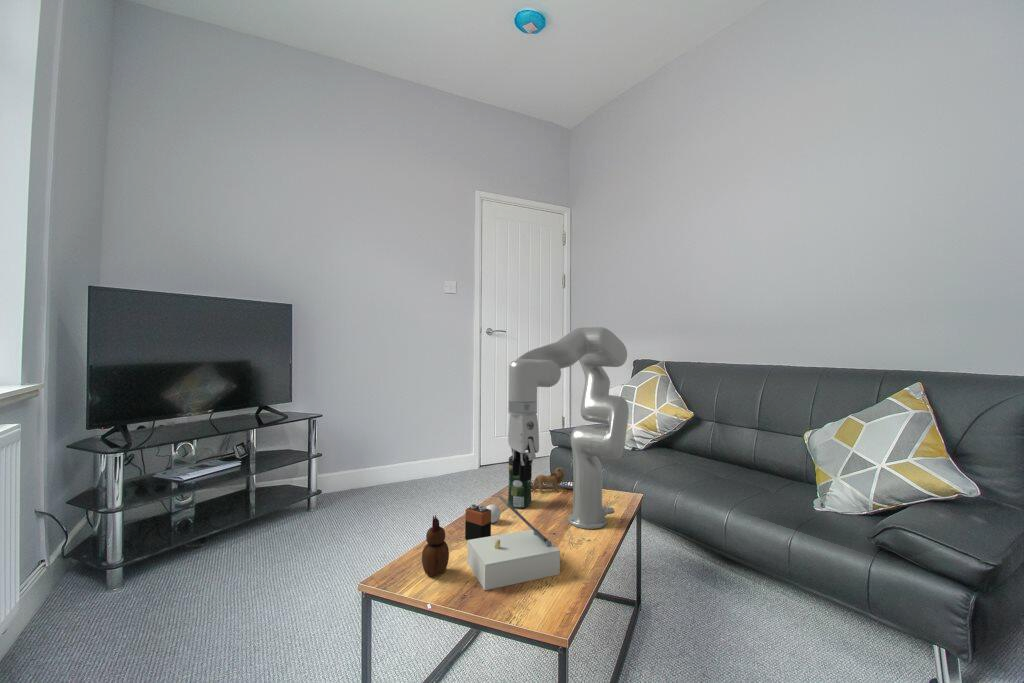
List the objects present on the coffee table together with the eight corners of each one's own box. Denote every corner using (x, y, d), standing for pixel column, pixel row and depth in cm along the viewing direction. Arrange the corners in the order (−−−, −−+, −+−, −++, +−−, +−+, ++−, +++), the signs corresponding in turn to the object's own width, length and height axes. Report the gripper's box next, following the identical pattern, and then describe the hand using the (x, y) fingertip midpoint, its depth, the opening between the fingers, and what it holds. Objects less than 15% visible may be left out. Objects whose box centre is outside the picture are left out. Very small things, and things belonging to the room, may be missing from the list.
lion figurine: (561, 487, 178) (561, 465, 178) (567, 491, 173) (567, 469, 173) (528, 491, 173) (528, 468, 173) (533, 495, 168) (533, 472, 168)
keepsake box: (535, 550, 122) (535, 522, 122) (559, 574, 109) (559, 543, 110) (467, 562, 115) (467, 533, 115) (484, 590, 102) (485, 556, 102)
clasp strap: (536, 535, 118) (539, 532, 119) (547, 545, 113) (550, 541, 113) (497, 497, 114) (500, 494, 114) (506, 505, 108) (509, 501, 109)
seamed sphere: (483, 518, 145) (484, 501, 145) (500, 519, 144) (501, 502, 144) (481, 528, 137) (481, 510, 137) (499, 528, 137) (499, 510, 137)
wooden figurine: (434, 582, 105) (435, 520, 105) (417, 575, 108) (418, 514, 108) (452, 570, 111) (453, 511, 111) (435, 564, 114) (436, 506, 114)
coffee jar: (512, 498, 164) (513, 449, 164) (533, 501, 162) (533, 451, 162) (505, 507, 155) (505, 455, 155) (526, 510, 152) (527, 457, 153)
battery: (482, 545, 125) (482, 510, 125) (464, 539, 128) (464, 505, 129) (491, 540, 128) (492, 506, 128) (473, 534, 132) (474, 501, 132)
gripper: (550, 411, 107) (549, 485, 107) (522, 403, 123) (521, 468, 122) (522, 412, 104) (521, 489, 104) (497, 404, 120) (496, 470, 119)
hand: (521, 477), depth 113 cm, fingers open, 3 cm apart
